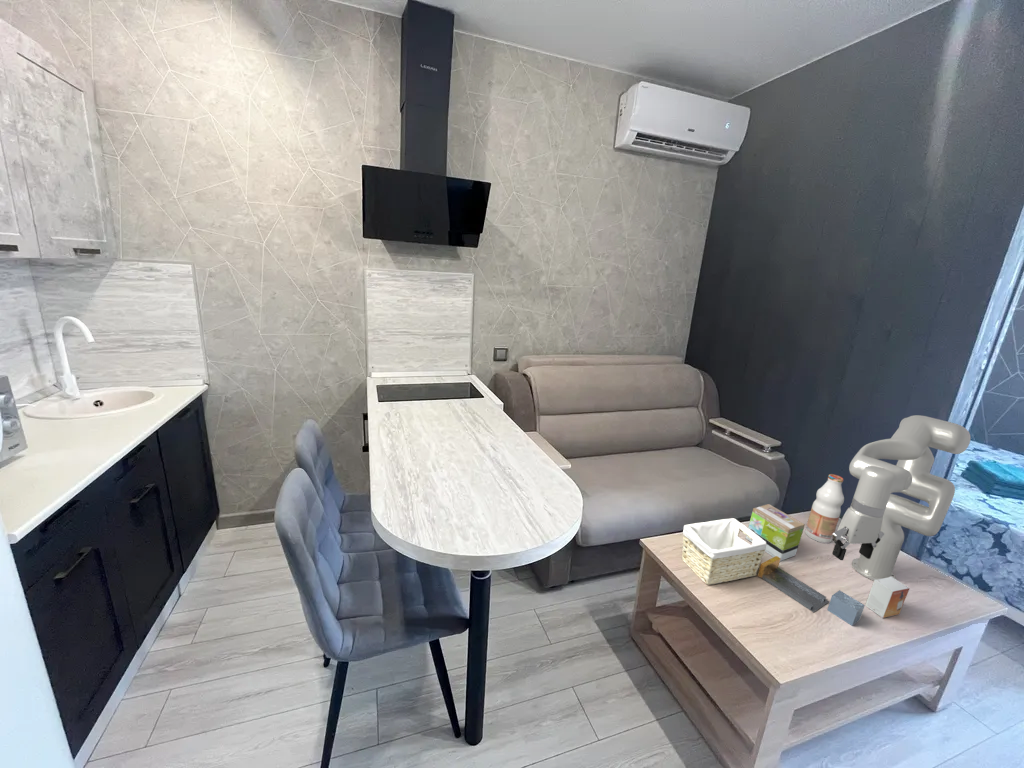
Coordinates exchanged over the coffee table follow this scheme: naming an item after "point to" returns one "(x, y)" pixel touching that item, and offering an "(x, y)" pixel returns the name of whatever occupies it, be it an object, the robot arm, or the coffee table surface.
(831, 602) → the block
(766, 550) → the tea box
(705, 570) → the storage basket
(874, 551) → the robot arm
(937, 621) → the coffee table surface
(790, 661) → the coffee table surface
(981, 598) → the coffee table surface
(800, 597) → the dock
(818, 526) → the fruit juice
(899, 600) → the small box
